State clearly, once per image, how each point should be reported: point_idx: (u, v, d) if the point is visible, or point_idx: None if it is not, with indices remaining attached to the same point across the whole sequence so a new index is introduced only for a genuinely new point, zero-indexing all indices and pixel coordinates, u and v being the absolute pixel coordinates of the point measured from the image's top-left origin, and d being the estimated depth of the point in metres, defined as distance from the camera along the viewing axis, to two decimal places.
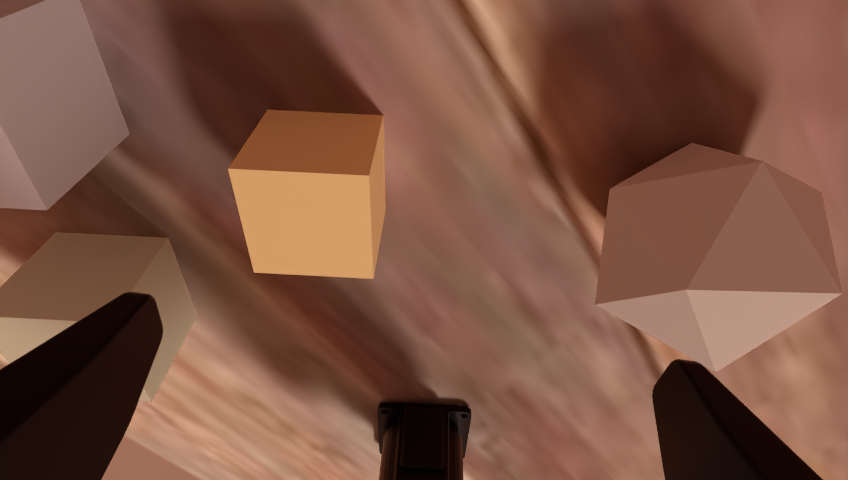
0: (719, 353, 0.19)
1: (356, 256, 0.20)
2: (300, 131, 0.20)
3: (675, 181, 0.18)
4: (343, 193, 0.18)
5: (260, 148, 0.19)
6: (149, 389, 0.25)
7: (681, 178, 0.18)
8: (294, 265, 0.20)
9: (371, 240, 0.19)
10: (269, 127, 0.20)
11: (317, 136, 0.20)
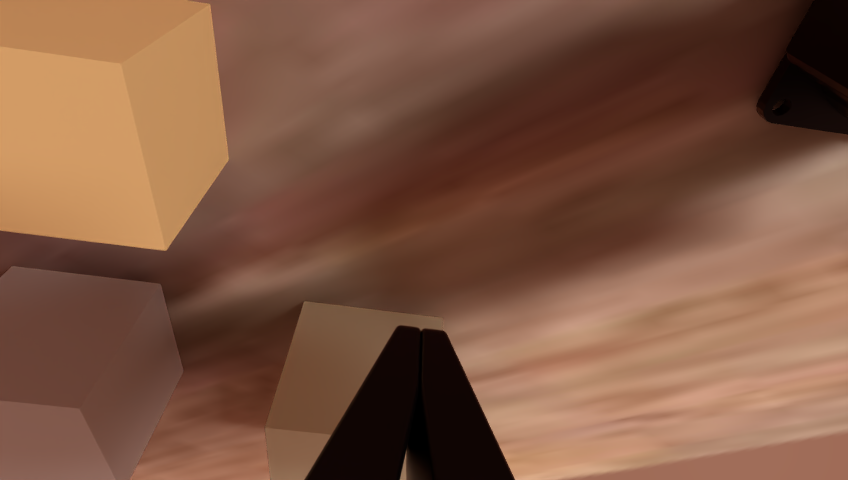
0: None
1: (69, 86, 0.10)
2: None
3: None
4: None
5: None
6: None
7: None
8: (129, 192, 0.12)
9: (20, 49, 0.10)
10: None
11: None
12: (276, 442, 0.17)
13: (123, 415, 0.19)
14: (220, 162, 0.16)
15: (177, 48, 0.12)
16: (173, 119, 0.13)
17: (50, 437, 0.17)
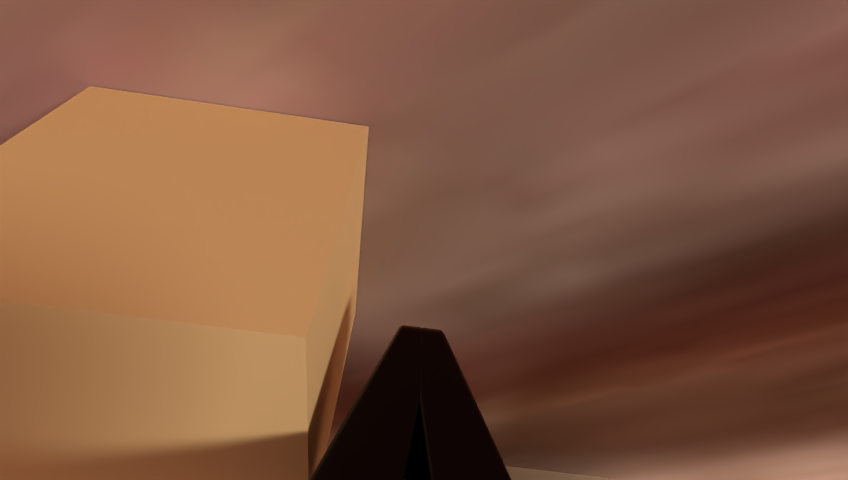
0: None
1: (199, 362, 0.06)
2: None
3: None
4: None
5: None
6: None
7: None
8: (270, 478, 0.07)
9: (114, 310, 0.05)
10: None
11: None
12: None
13: None
14: (350, 329, 0.11)
15: (344, 229, 0.07)
16: (332, 338, 0.08)
17: None
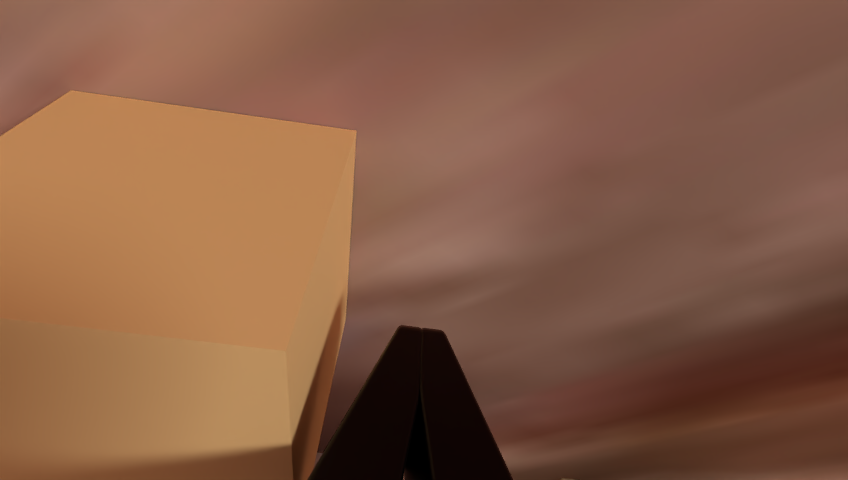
0: None
1: (177, 377, 0.05)
2: None
3: None
4: None
5: None
6: None
7: None
8: None
9: (87, 324, 0.05)
10: None
11: None
12: None
13: None
14: (341, 336, 0.11)
15: (331, 235, 0.07)
16: (319, 347, 0.08)
17: None
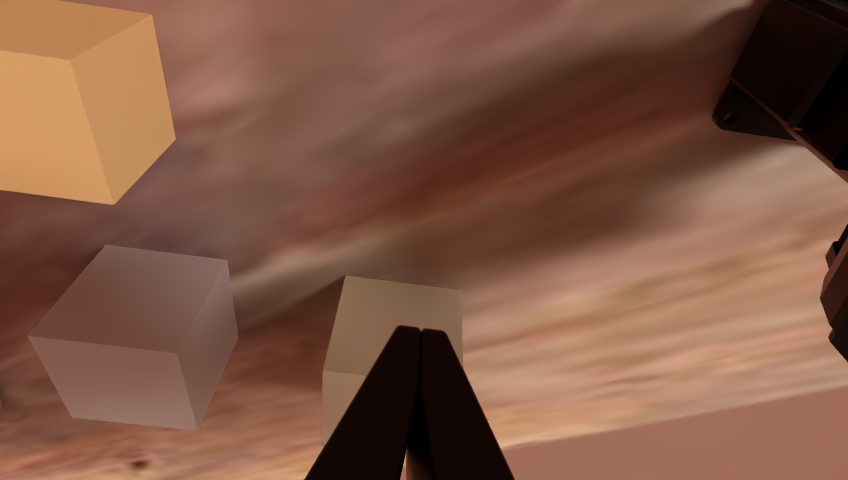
0: None
1: (34, 76, 0.14)
2: None
3: None
4: None
5: None
6: None
7: None
8: (82, 157, 0.16)
9: None
10: None
11: None
12: (330, 383, 0.21)
13: (200, 365, 0.23)
14: (166, 141, 0.20)
15: (120, 49, 0.16)
16: (118, 103, 0.17)
17: (148, 378, 0.22)
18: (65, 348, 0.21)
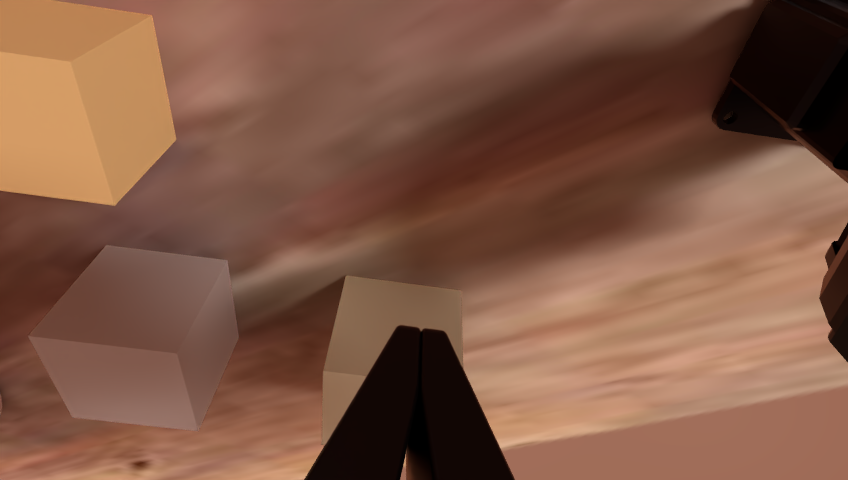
0: None
1: (35, 77, 0.14)
2: None
3: None
4: None
5: None
6: None
7: None
8: (83, 158, 0.16)
9: None
10: None
11: None
12: (331, 384, 0.21)
13: (201, 366, 0.23)
14: (167, 141, 0.20)
15: (120, 50, 0.16)
16: (119, 104, 0.17)
17: (149, 379, 0.22)
18: (65, 348, 0.21)
